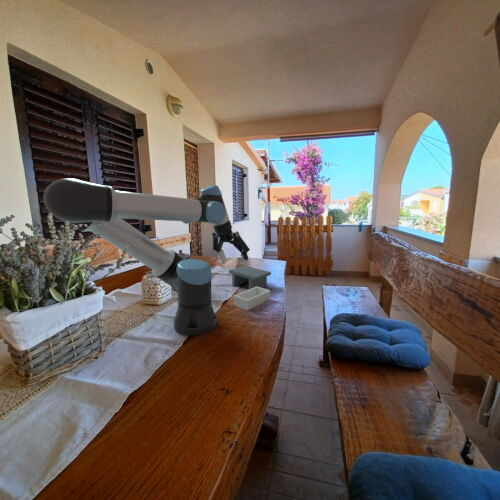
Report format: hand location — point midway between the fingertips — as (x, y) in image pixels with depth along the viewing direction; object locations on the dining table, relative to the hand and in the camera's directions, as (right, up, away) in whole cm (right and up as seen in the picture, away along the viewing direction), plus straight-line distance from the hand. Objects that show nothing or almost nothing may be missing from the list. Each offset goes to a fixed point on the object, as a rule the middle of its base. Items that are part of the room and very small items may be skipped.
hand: (235, 264), depth 116 cm
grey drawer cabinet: (+7, -12, +19) cm, 23 cm away
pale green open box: (+8, -17, -3) cm, 19 cm away
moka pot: (-29, -13, +12) cm, 34 cm away
